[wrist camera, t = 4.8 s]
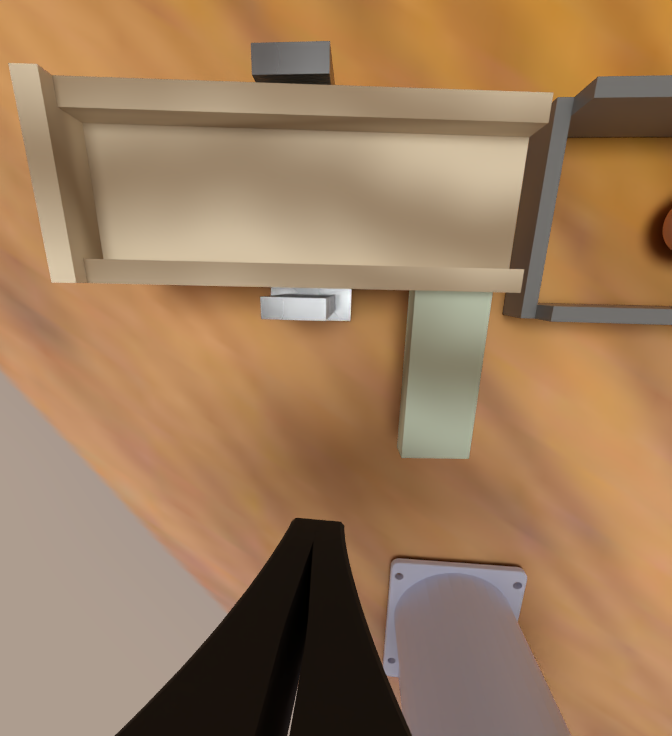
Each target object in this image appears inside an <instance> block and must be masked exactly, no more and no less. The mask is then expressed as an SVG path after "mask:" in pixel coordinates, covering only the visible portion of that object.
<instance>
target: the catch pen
mask: <svg viewBox="0 0 672 736" xmlns="http://www.w3.org/2000/svg"><path fill="white" fill-rule="evenodd" d="M567 137H672V75H670V76H608V77H597V78H596V79H595V80H594V81H592V82H591V83H590V84H589V85H588V86H587V87H586V88H584V89H583V90H582V91H581V92H580V93H579V94H577V95H576V96H575V97H558V98H557V99H555V100H554V101H553V102H552V104H551V110H550V117H549V123H548V124H546V125H545V126H544V127H542V128H541V129H540V130H538V131H537V132H536V133H534V134H533V135H532V136H530V139H529V146H528V152H527V159H526V165H525V172H524V178H523V185H522V191H521V198H520V204H519V211H518V217H517V224H516V230H515V237H514V243H513V250H512V256H511V263H510V269H524V274H523V281H522V287H521V293H508V292H506V296H505V302H504V309H503V315H508V316H513V317H518V318H535V319H541V320H546V321H554V322H589V323H625V324H660V325H672V306H640V305H600V304H560V303H538V298H539V292H540V286H541V281H542V275H543V270H544V264H545V258H546V253H547V247H548V242H549V236H550V231H551V225H552V219H553V214H554V208H555V203H556V197H557V192H558V186H559V180H560V175H561V169H562V164H563V158H564V153H565V147H566V141H567Z"/></svg>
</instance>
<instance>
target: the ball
mask: <svg viewBox="0 0 672 736" xmlns="http://www.w3.org/2000/svg"><path fill="white" fill-rule="evenodd" d="M663 238H664V241H665V243H666V245H667V246H668V247H669V248H670V249H671V250H672V209H671V210H670V211H669V213H668V214H667V216H666V218H665V221H664V224H663Z"/></svg>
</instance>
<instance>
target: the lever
mask: <svg viewBox="0 0 672 736" xmlns="http://www.w3.org/2000/svg"><path fill="white" fill-rule="evenodd" d="M8 64H9V69H10V74H11V79H12V84H13V89H14V94H15V100H16V105H17V110H18V115H19V120H20V125H21V130H22V135H23V140H24V145H25V150H26V155H27V160H28V165H29V170H30V175H31V181H32V186H33V191H34V196H35V201H36V206H37V211H38V216H39V221H40V226H41V231H42V236H43V241H44V246H45V251H46V256H47V262H48V267H49V272H50V277H51V282H60V283H111V284H155V285H199V286H243V287H287V288H331V289H376V290H409V300H408V313H407V326H406V338H405V351H404V364H403V377H402V390H401V402H400V415H399V428H398V441H397V448H398V450H399V453H400V455H401V458H451V459H469V454H470V447H471V440H472V433H473V426H474V419H475V412H476V405H477V399H478V392H479V385H480V378H481V371H482V364H483V357H484V350H485V343H486V336H487V329H488V322H489V315H490V308H491V301H492V294H493V292H508V293H521V287H522V281H523V274H524V269H509V266H510V260H511V253H512V247H513V240H514V234H515V227H516V221H517V214H518V208H519V201H520V194H521V188H522V181H523V175H524V168H525V162H526V155H527V149H528V142H529V137H530V136H532V135H533V134H534V133H536V132H537V131H538V130H540V129H541V128H542V127H544V126H545V125H546V124H548V123H549V117H550V110H551V104H552V98H553V93H545V92H516V91H488V90H459V89H430V88H401V87H373V86H344V85H315V84H286V83H258V82H229V81H200V80H171V79H143V78H114V77H85V76H56V75H51V74H50V73H48V72H47V71H46V70H44V69H43V68H42V67H40V66H39V65H38V64H21V63H8Z"/></svg>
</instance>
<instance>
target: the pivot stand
mask: <svg viewBox="0 0 672 736" xmlns="http://www.w3.org/2000/svg"><path fill="white" fill-rule="evenodd" d="M251 60H252V76H253V78H254V80H255V82H258V83H286V84H315V85H335V81H334V72H333V64H332V55H331V47H330V41H316V42H273V43H251ZM351 293H352V289H331V288H287V287H271V296H263V297H260V301H261V319H279V320H313V321H326V320H333V321H351Z"/></svg>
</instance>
